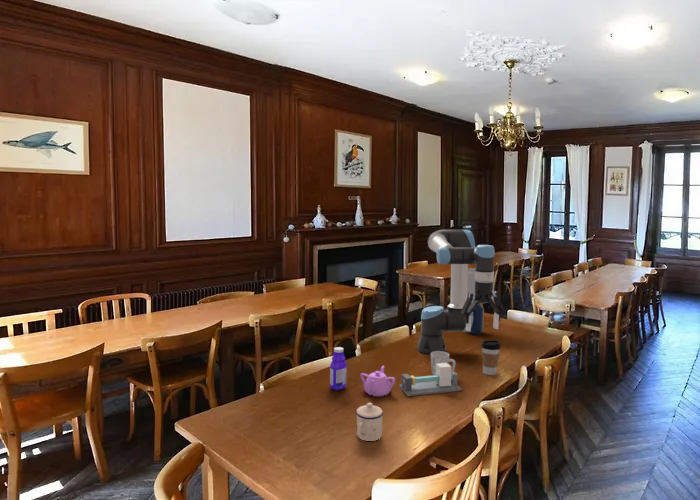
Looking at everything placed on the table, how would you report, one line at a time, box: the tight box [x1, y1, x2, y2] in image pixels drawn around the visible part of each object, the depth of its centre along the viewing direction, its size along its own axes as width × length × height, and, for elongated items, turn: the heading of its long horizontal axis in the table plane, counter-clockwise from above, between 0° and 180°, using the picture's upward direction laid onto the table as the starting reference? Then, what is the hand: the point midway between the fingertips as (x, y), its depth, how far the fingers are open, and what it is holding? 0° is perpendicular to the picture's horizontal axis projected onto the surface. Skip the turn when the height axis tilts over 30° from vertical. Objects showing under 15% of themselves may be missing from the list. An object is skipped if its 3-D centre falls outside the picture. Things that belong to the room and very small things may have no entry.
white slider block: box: [435, 363, 452, 387], centre depth 205 cm, size 5×5×8 cm
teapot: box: [359, 365, 396, 397], centre depth 200 cm, size 12×14×9 cm
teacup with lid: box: [355, 402, 384, 441], centre depth 161 cm, size 12×9×12 cm
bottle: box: [329, 346, 348, 391], centre depth 204 cm, size 7×6×17 cm
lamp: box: [465, 267, 495, 336], centre depth 287 cm, size 20×20×39 cm
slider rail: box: [399, 371, 462, 397], centre depth 204 cm, size 10×24×6 cm, turn 104°
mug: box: [430, 351, 457, 376], centre depth 219 cm, size 11×8×10 cm
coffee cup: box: [481, 339, 501, 376], centre depth 223 cm, size 8×8×15 cm
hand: (482, 329), depth 207 cm, fingers open, 13 cm apart
